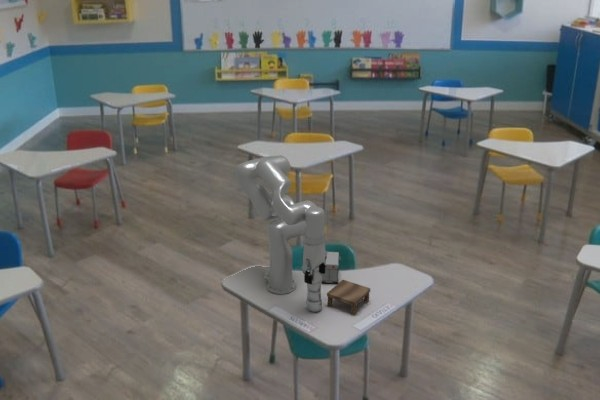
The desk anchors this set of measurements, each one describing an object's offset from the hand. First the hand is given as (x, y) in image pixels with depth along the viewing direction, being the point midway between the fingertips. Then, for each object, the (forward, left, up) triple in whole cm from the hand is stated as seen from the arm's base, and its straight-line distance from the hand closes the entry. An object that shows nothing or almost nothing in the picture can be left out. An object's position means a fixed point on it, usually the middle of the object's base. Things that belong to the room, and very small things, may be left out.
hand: (315, 277), depth 225 cm
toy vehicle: (-9, +28, -15) cm, 33 cm away
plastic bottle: (0, 0, -15) cm, 15 cm away
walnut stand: (+9, +12, -15) cm, 21 cm away
